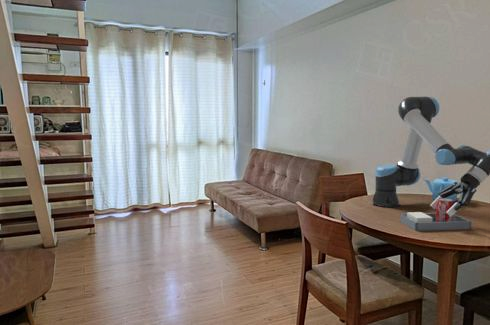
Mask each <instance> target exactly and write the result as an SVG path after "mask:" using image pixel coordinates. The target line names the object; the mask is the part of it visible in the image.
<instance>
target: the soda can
mask: <svg viewBox="0 0 490 325" xmlns="http://www.w3.org/2000/svg"><path fill="white" fill-rule="evenodd" d="M452 201H453V200H452V199H448V198H439V200H438V201H437V207H436V208H435V209H436V210H435V213H436V222H453V215H452V216H451V217H450V216H449V215H448V214H447V213H446V212H447V211H448V210H449V209H450V208H451V207H452V206H453V205H454V204H455V202H452Z"/></svg>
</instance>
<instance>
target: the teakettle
mask: <svg viewBox="0 0 490 325" xmlns="http://www.w3.org/2000/svg"><path fill="white" fill-rule="evenodd" d="M422 180H423V181H425V182H426V183H427V188H428V189H429V191H430V192H431V193H432V196H431V197H432V199H431V200H433V201H435V200H436V199H437V198H438V197H439V194H438V193H439V192H440V191H442V190H444V189H445V188H447V187H449V186H450V185H452V184H453V183H454V182H457V183H458V184H459V182H458V179H449V177H442V178H436V179H434V181H433V182H432V184H431V181H430V180H429V179H427V178H423V179H422ZM458 195H459V194H453V195H451V196H449V197H446V198H448V199H452V200H453V201H452V202H453V203H456V201H457V198H458Z"/></svg>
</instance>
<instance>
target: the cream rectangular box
mask: <svg viewBox="0 0 490 325" xmlns="http://www.w3.org/2000/svg"><path fill="white" fill-rule="evenodd" d="M424 213H425V212H421V211H415V212H412V211H411V212H410V211H409V212H406V214H407V217H408V218H410V219H411V220H413V221H415V222H417V223H420V222H432V220H433V218H432V217H430V216H428V215H426V214H424Z"/></svg>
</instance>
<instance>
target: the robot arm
mask: <svg viewBox="0 0 490 325" xmlns="http://www.w3.org/2000/svg"><path fill="white" fill-rule="evenodd" d="M397 112H398V115H399V117H400V119H401V120H402V122H404V124H408V125H409V128H408V133H407V136H406V140H405V142H404V143H405V144H404V147H403V151H402V155H401V159H400V160H398V161H397V163H396V164H382V165H378V166H377V167H376V168H375V187H374V188H375V189H374V190H375V191H374V194H373V198H372V200H371V204H372V203H373V204H375V205H379V206H378V207H380V206H385V207H384V208H395V207H399V206H400V201H399V200H400V199H399V196H398V194H397V187H403V186H407V187H408V186H412V185H416V183H418V182H419V180H420V178H421V171H420V169H419V165H418V164H417V162H418V158H419V155H420V152H421V149H422V148H421V147H422V144H423V141H424V142H425V143H426V145H427V146H428V147H429V148H430V149H431V150H432V151H433V152H434V155H435V156H434V158H435V161H436V163H437V164H438V165H441V166H451V165H452V166H453V165H463V164H464V165H465V164H469V165H470V166H471V167H470V168H469V169H468V170H467V171H466V173H464V174H463V175H462V176H461V177H460V182H458V183H457V182H454V183H453V184H452V185H450V186H449V187H447V188H445V189H444V190H442V191H440V192H439V193H438V194H439V197H438V198H437V199H436V200H433V202H432V203H431V204H430V205H429V206H430V207H431V208H432V209H433V210H435V209H436V207H437V201H438V200H439V198H446V197H449V196H451V195H453V194H458V195H459V199H458V200H456V201H457V202H456V201H455V202H454V205H453V206H452V207H451V208H450V209H449V210H448V211H447V212H446V213H447V214H448V215H449V216H450V217H451V216H452V215H453V214H456V213H457V211H459V210H460V209H461V208H462V207H468V206H469V204H470V202H471V201H472V199H473V196H474V195H475V193H476V192H477V191H478V190H477V188H478V187H479V186H480V185H481V183H483V182H485V180H486V179H487V178H488V177H490V149H488V151H487V152H484V151H482V150H479V149H476V148H474V147H472V146H469V145H466V144H465V145H464V144H462V145H460V146H458V147H457V148H454V147H453V146H452V145H451V144H450V143H449V142H448V141H447V140H446V139H445V137H443V135H442V134H440V132H439V131H438V130H436V128H435V127H434V126H433V125H432V124H431V123H432V121H433V120H432V119H433V118H435V117H437V115H439V112H440V103H439V102H438V100H437V99H436V98H435V97H432V96H408V97H405V98H404V99H403V100H401V101H400V103H399V105H398V111H397ZM373 204H372V205H373ZM375 205H374V206H375Z"/></svg>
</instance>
